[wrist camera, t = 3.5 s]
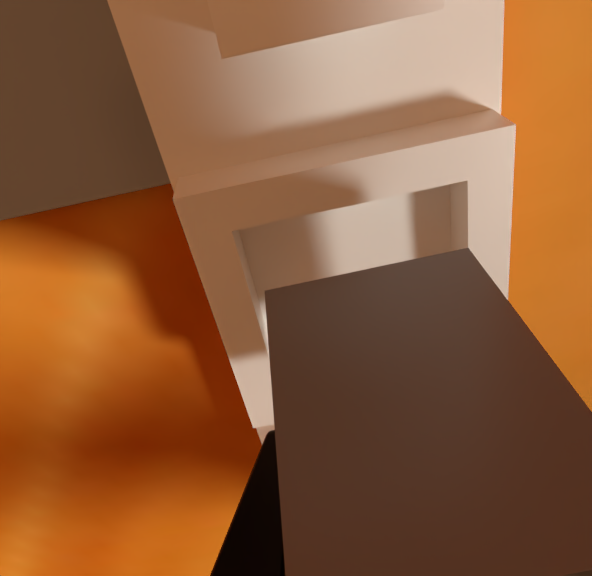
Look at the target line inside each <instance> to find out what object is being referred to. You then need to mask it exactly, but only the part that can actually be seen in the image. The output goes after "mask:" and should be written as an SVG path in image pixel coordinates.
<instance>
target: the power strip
mask: <svg viewBox="0 0 592 576" xmlns="http://www.w3.org/2000/svg"><path fill="white" fill-rule="evenodd" d="M107 1H108V4H109V7H110V10H111V13H112V16H113V19H114V22H115V24H116V27H117V30H118V33H119V36H120V39H121V42H122V45H123V47H124V50H125V53H126V56H127V59H128V62H129V65H130V68H131V70H132V73H133V76H134V79H135V82H136V85H137V88H138V90H139V93H140V96H141V99H142V102H143V105H144V108H145V111H146V113H147V116H148V119H149V122H150V125H151V128H152V131H153V134H154V136H155V139H156V142H157V145H158V148H159V151H160V154H161V157H162V159H163V162H164V165H165V168H166V171H167V174H168V177H169V180H170V182H171V185H172V188H173V191H174V195H173V202H174V205H175V208H176V211H177V214H178V216H179V219H180V222H181V225H182V228H183V231H184V233H185V236H186V239H187V242H188V245H189V248H190V250H191V253H192V256H193V259H194V262H195V265H196V267H197V270H198V273H199V276H200V279H201V282H202V285H203V287H204V290H205V293H206V296H207V299H208V302H209V304H210V307H211V310H212V313H213V316H214V319H215V321H216V324H217V327H218V330H219V333H220V336H221V338H222V341H223V344H224V347H225V350H226V353H227V355H228V358H229V361H230V364H231V367H232V370H233V372H234V375H235V378H236V381H237V384H238V387H239V389H240V392H241V395H242V398H243V401H244V404H245V406H246V409H247V412H248V415H249V418H250V421H251V423H252V426H253V428H256V429H257V432H258V435H259V438H260V441H261V444H263V442H264V439H265V437H266V434H267V433H268V432H269V431H271V430H275V427H274V413H273V400H272V386H271V373H270V359H269V345H268V332H267V318H266V305H265V290H270V289H275V288H280V287H284V286H289V285H294V284H299V283H303V282H308V281H313V280H317V279H322V278H327V277H332V276H336V275H341V274H346V273H351V272H355V271H360V270H365V269H370V268H374V267H379V266H384V265H388V264H393V263H398V262H403V261H407V260H412V259H417V258H422V257H426V256H431V255H436V254H441V253H445V252H450V251H455V250H459V249H464V248H469V249H470V251H471V252H472V253H473V255H474V256H475V257H476V259H477V260H478V261H479V263H480V264H481V265H482V267H483V268H484V269H485V271H486V272H487V273H488V275H489V276H490V277H491V279H492V280H493V281H494V283H495V284H496V285H497V287H498V288H499V289H500V291H501V292H502V293H503V295H504V296H505V297H506V299H507V300H508V285H509V263H510V242H511V221H512V199H513V178H514V156H515V135H516V124H514V123H513V122H511V121H510V120H508V119H507V118H505V117H504V116H502V115H501V97H502V64H503V30H504V0H107Z"/></svg>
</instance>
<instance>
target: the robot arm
mask: <svg viewBox="0 0 592 576" xmlns="http://www.w3.org/2000/svg"><path fill="white" fill-rule="evenodd" d="M210 576H285V562H284V549H283V535H282V522H281V508H280V495H279V481H278V468H277V454H276V440H275V430H271V431H269V432H268V433H267V434H266V437H265V439H264V442H263V444H262V447H261V449H260V452H259V454H258V457H257V459H256V462H255V464H254V467H253V469H252V472H251V474H250V477H249V479H248V482H247V484H246V487H245V489H244V492H243V494H242V497H241V499H240V502H239V504H238V507H237V509H236V512H235V514H234V517H233V519H232V522H231V524H230V527H229V529H228V532H227V535H226V537H225V540H224V542H223V545H222V547H221V550H220V552H219V555H218V557H217V560H216V562H215V565H214V567H213V570H212V572H211V575H210Z"/></svg>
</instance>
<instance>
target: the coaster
mask: <svg viewBox="0 0 592 576" xmlns="http://www.w3.org/2000/svg"><path fill="white" fill-rule="evenodd" d="M170 183H171V182H170V180H169V177H168V174H167V171H166V168H165V165H164V162H163V159H162V157H161V154H160V151H159V148H158V145H157V142H156V139H155V136H154V134H153V131H152V128H151V125H150V122H149V119H148V116H147V113H146V111H145V108H144V105H143V102H142V99H141V96H140V93H139V90H138V88H137V85H136V82H135V79H134V76H133V73H132V70H131V68H130V65H129V62H128V59H127V56H126V53H125V50H124V47H123V45H122V42H121V39H120V36H119V33H118V30H117V27H116V24H115V22H114V19H113V16H112V13H111V10H110V7H109V4H108V1H107V0H0V220H5V219H10V218H14V217H19V216H23V215H28V214H32V213H37V212H42V211H46V210H51V209H55V208H60V207H64V206H69V205H74V204H78V203H83V202H87V201H92V200H97V199H101V198H106V197H110V196H115V195H119V194H124V193H129V192H133V191H138V190H142V189H147V188H152V187H156V186H161V185H165V184H170Z"/></svg>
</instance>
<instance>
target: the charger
mask: <svg viewBox="0 0 592 576" xmlns="http://www.w3.org/2000/svg"><path fill="white" fill-rule="evenodd" d="M265 305H266V318H267V332H268V345H269V359H270V373H271V386H272V400H273V413H274V427H275V440H276V454H277V468H278V481H279V495H280V508H281V522H282V535H283V549H284V562H285V576H592V412H591V411H590V409H589V408H588V407H587V405H586V404H585V403H584V401H583V400H582V399H581V397H580V396H579V395H578V393H577V392H576V391H575V389H574V388H573V387H572V385H571V384H570V383H569V381H568V380H567V379H566V377H565V376H564V375H563V373H562V372H561V371H560V369H559V368H558V367H557V365H556V364H555V363H554V361H553V360H552V359H551V357H550V356H549V355H548V353H547V352H546V351H545V349H544V348H543V347H542V345H541V344H540V343H539V341H538V340H537V339H536V337H535V336H534V335H533V333H532V332H531V331H530V329H529V328H528V327H527V325H526V324H525V323H524V321H523V320H522V319H521V317H520V316H519V315H518V313H517V312H516V311H515V309H514V308H513V307H512V305H511V304H510V303H509V301H508V300H507V299H506V297H505V296H504V295H503V293H502V292H501V291H500V289H499V288H498V287H497V285H496V284H495V283H494V281H493V280H492V279H491V277H490V276H489V275H488V273H487V272H486V271H485V269H484V268H483V267H482V265H481V264H480V263H479V261H478V260H477V259H476V257H475V256H474V255H473V253H472V252H471V251H470V249H469V248H464V249H459V250H455V251H450V252H445V253H441V254H436V255H431V256H426V257H422V258H417V259H412V260H407V261H403V262H398V263H393V264H388V265H384V266H379V267H374V268H370V269H365V270H360V271H355V272H351V273H346V274H341V275H336V276H332V277H327V278H322V279H317V280H313V281H308V282H303V283H299V284H294V285H289V286H284V287H280V288H275V289H270V290H265Z"/></svg>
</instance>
